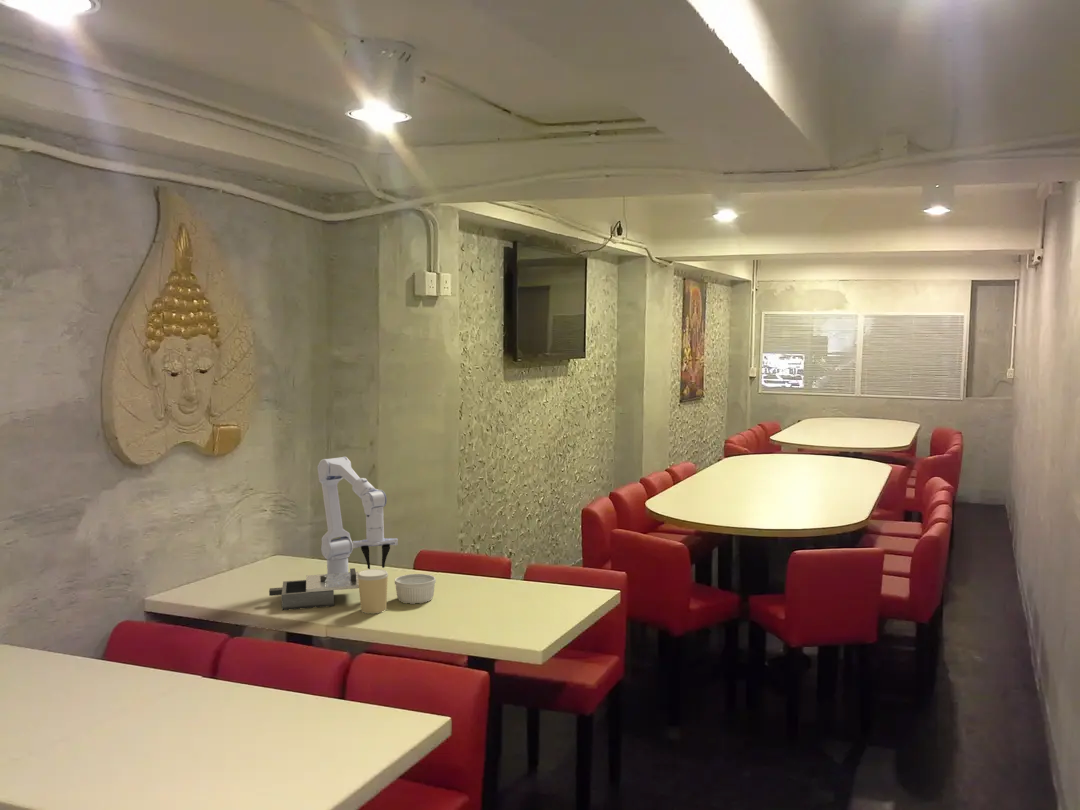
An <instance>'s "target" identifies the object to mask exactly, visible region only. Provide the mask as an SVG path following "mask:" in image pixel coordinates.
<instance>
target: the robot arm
mask: <svg viewBox="0 0 1080 810" xmlns="http://www.w3.org/2000/svg"><path fill="white" fill-rule="evenodd" d="M316 467H317V474H318V475H317V477H318V483H320V484H321V489H322V497H323V504H324V510H325V511H324V512H325V520H326V525H327V526H326V527H327V531H326V532H325V534H323V536H322V537H321V547H320V548H321V549H320V551H321V555H322V556H323V557H324V559H326V572H327V573H326V574H334V573H347V572H349V557H350V556H351V554H352V553H353V550H354V549H357V548H360V550H361V552H362V553H363V556H364V558H365V561H366V564H367V570H369V569H371V563H370V547H381V569H382V568H383V569H384V568H386V566H385V565H386V561H387V557H388V554H389V552H390V550H391V546H398V545H399V544H398V543H399V539H398V538H396V537H395V538H392V537H391V538H390V537H389V538H385V528H384V525H385V524H384V523H385V522H384V516H385V515H384V508H385V507H386V505H387V503H388V497H387V494H386V492H385V491H384V490H383V489H378V488H375V486H374V485H373V484H371V482H369V481H368V479H367V478H366V477H360V476H359V475H358V473H357V472H356V471H355V470H354V469H353V467H352V462H351V460H350V459H349V458H348V457H347V456H342V457H341V456H340V457H331V458H323V459H320V461H319V463H318V465H317V466H316ZM343 479H344V480H345V481H347V482H348V483H349V484H350V485H351V486H352V487H351V490H352V492H354V493H355V495H356V496H357V497H359V499H360V500H361V504H362V508H363V512H364V515H365V528H366V529H365V530H366V531H365V533H366V539H362V540H353V541H352V537H351V533H350V532H349V531H347V530H346V529H344V526H343V520H342V518H343V517H342V513H341V511H342V510H341V505H340V504H341V503H340V495H339V489H338V484H339V483H340V481H342V480H343Z"/></svg>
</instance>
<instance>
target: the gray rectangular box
mask: <svg viewBox="0 0 1080 810" xmlns="http://www.w3.org/2000/svg"><path fill="white" fill-rule="evenodd" d="M334 591H335V590H330V591H317V592H306V579H299V580H298V579H297V580H286V581H282V587H270V588H269V591H268V593H269V597H272V596H281V610H282V611H289V609H293V610H301V609H300V608H305V609H314V608H313V607H317V608H326V606H329V607H335V592H334Z"/></svg>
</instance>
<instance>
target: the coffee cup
mask: <svg viewBox="0 0 1080 810" xmlns="http://www.w3.org/2000/svg"><path fill="white" fill-rule="evenodd" d="M358 573H359V575H358V581H359V588H358V591H359V602H360V609H361V610H360V611H361V613H363V612H365V613H364V614H366V613H377V614H379V613H378V612H381V613H383V612H382V611H384V610H385V611H386V610H387V601H388V582H389V581H388V579H389V578H388V577H389V573H388V571H387V570H385V569H382V568H381V569H380V568H370V569H365V570H362V571H358ZM385 611H384V612H385Z"/></svg>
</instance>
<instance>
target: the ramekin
mask: <svg viewBox="0 0 1080 810" xmlns="http://www.w3.org/2000/svg"><path fill="white" fill-rule="evenodd" d="M436 581H437V579H436V577H435V576H433V575H431V574H426V573H408V574H404V575H400V576H397V577H396V578H394V585H395V591H396V598H397V599H398V601H399V602H400V601H401V602H400V603H402V602H404V603H403V604H407V603H410V604H409V605H416V604H415V603H420V604H424V603H423V602H425V603H428V602H430V601H431V600H432V599H433V597H434V592H435V584H436ZM427 601H428V602H427Z"/></svg>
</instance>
